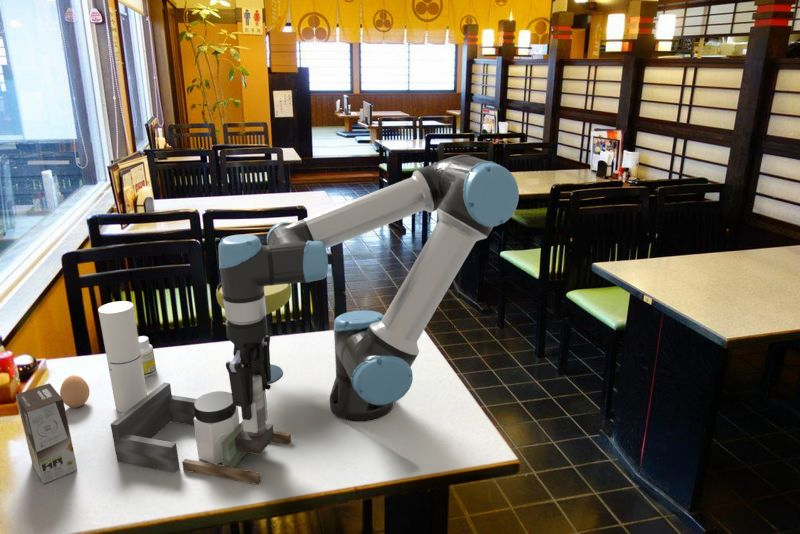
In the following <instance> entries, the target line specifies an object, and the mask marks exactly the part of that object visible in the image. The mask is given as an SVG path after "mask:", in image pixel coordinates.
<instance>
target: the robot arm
mask: <svg viewBox="0 0 800 534" xmlns="http://www.w3.org/2000/svg"><path fill="white" fill-rule="evenodd" d="M519 197H520V192H519V185H518V182H517V180H516V178H515V176H514V175H513V174H512V172H511V171H510V170H508V169H507V168H506V167H504V166H502V165H500V164H499V163H498V164H497V163H496V162H494V161H489V160H485V159H481V158H479V157H475V156H474V155H468V154H460V155H455V156H451V157H448V158H444V159H442V160H439V161H437V162H434V163H431V164H429V165H427V166H424V167H422V168H419V169H416V170H414V171H413V172H412V175H411V177H409V178H406V179H403V180H401V181H398V182H396V183H394V184H391V185H388V186H385V187H383V188H380V189H378V190H376V191H372V192H371V193H368V194H365V195H362V196H359V197H358V198H354V199H352V200H350V201H346V202H344V203H342V204H338V205H337V206H334V207H331V208H328V209H326V210H324V211H321V212H319V213H316V214H313V215H311V216H308V217H305V218H302V219H300V220H297V221H295V222H292V223H291V222H285V221H284V222H283V221H282V222H279V223H276V224H274V225H273V226H272V227H271V228H270V229H269V231H268V232H267V235H266V245H264V244H262V243H261V240H260V238H259V237H258V236H257V235H254V234H234V235H230V236H227V237H224V238H222V239H221V240H220V242H219V243H218V264H219V275H220V281H221V282H220V283H221V284H222V292H223V299H224V300H223V303H224V309H223V310H224V317H225V319H226V320H225V330H226V338H227V340H229V341H230V342H231V343H232V344H233V352H232V354H233V357H232V359H231V361H229V360H227V361H226V363H225V368H226V371H227V372H228V378H229V385H230V390H231V392H230V393H231V394H232V399H233V405H234V406H238V408H239V407H240V409H241V418H242V419H241V420H242V421H243V428H244V431H247V432H253V433H257V431H258V425H257V414H256V403H255V402H253V374H258V375H260V376H261V377H262V388H263V399H264V411H265V422H267V421H268V420H269V415H268V403H267V402H268V401H267V393H266V392H267V391H269V390H271V384H269V383H268V384H267V382H270V381H271V369H270V364H271V352H270V346H271V345H270V343H271V336H270V335H268V331H269V330H268V321H267V320H268V319H267V315H266V305H265V295H264V286H272V285H281V284H290V285H291V284H298V283H300V284H301V283H311V282H315V281H320V280H324V279H325V278H326V277H327V276H328V275H329V274H328V273H329V260H328V259H329V258H328V252H327V249H329V248H331V247H334V246H336V245H340V244H342V243H344V242H346V241H349V240H351V239H354V238H357V237H360V236H362V235H364V234H367V233H369V232H372V231H374V230H377V229H379V228H383V227H385V226H387V225H389V224H392V223H394V222H395V223H396V221H400V220H403V219H405V218H407V217H409V216H410V217H411V216H412V215H414V214H417V213H420V212H424V211H425V212H428V213H432V212H433V213H434V212H435V211H436V213H437V217H438V221H437V223H436V225H435V227H434V229H433V230H432V232H431V233H430V235H429V237H428V239H427V241H426V242H425V244H424V246H423V247H422V249H421V250H420V252H419V254H418V256H417V258H416V259H415V262H414V263H413V265H412V266H411V269H410V270H409V271H408V273H407V274H406V275H407V276H406V277H405V279H404V280H403V282H402V284H401V286H400V287H399V289H398V291H397V292H396V294H395V296H394V298H393V300H392V301H391V303H390V304H389V307H388V308H387V310H386V312H385V313H384V314H383V313H381V312H378V311H374V310H354V311H347V312H343V313H342V314H340V315H338V316H336V318H335V319H334V323H333V330H332V331H333V334H334V335H333V336H334V354H335V359H334V360H335V361H334V362H335V379H334V381H333V384H332V387H331V388H332V389H331V391H330V394H329V408H330V411H331V413H332V414H334V415H335V417H337V418H339V419H342V420H345V421H348V422H356V423H357V422H358V423H360V422H361V423H363V422H365V423H366V422H372V421H376V420H378V419H381V418H382V417H385V416H387V415H388V414H389V413H390V412H391V411H392V409H393V407H394V403H395V402H398V401H399V400H400V399H402V398H403V397H405V395H406V394H407V393H408V392H409V390H410V388H411V387H412V384H413V379H414V378H413V370H412V368H411V367H412V365H413V364H414V363H415V360H416V359H417V357H418V356H419V353H420V349H419V347H418V345H419V344H418V341H419V339H420V338H421V335H422V334H423V332H424V330H425V329H426V327H427V325H428V323H429V322H430V320H431V319H432V317H433V316H434V314H435V311H436V310H437V308H438V306H439V305H440V303H441V302H442V300H443V298H444V297H445V295H446V294H447V292H448V290H449V288H450V286H451V284H452V283H453V281H454V280H455V278H456V276H457V275H458V273H459V271H460V270H461V267H462V266H463V264H464V262H465V261H466V259H467V258H468V256H469V254H470V253H471V251H472V249H473V247H474V246H475V243H476V242H478V241H481V240H485V239H487V238H488V237H489V235H490V233H491V232H492V230H493V228H494V227H498V226H499V225H501V224H505V223H506V222H507V221H508V220H510V218H511V217H512V216H513V215H514V213H515V211H516V210H517V207H518V204H519ZM265 374H266V376H265ZM266 390H267V391H266Z"/></svg>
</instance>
